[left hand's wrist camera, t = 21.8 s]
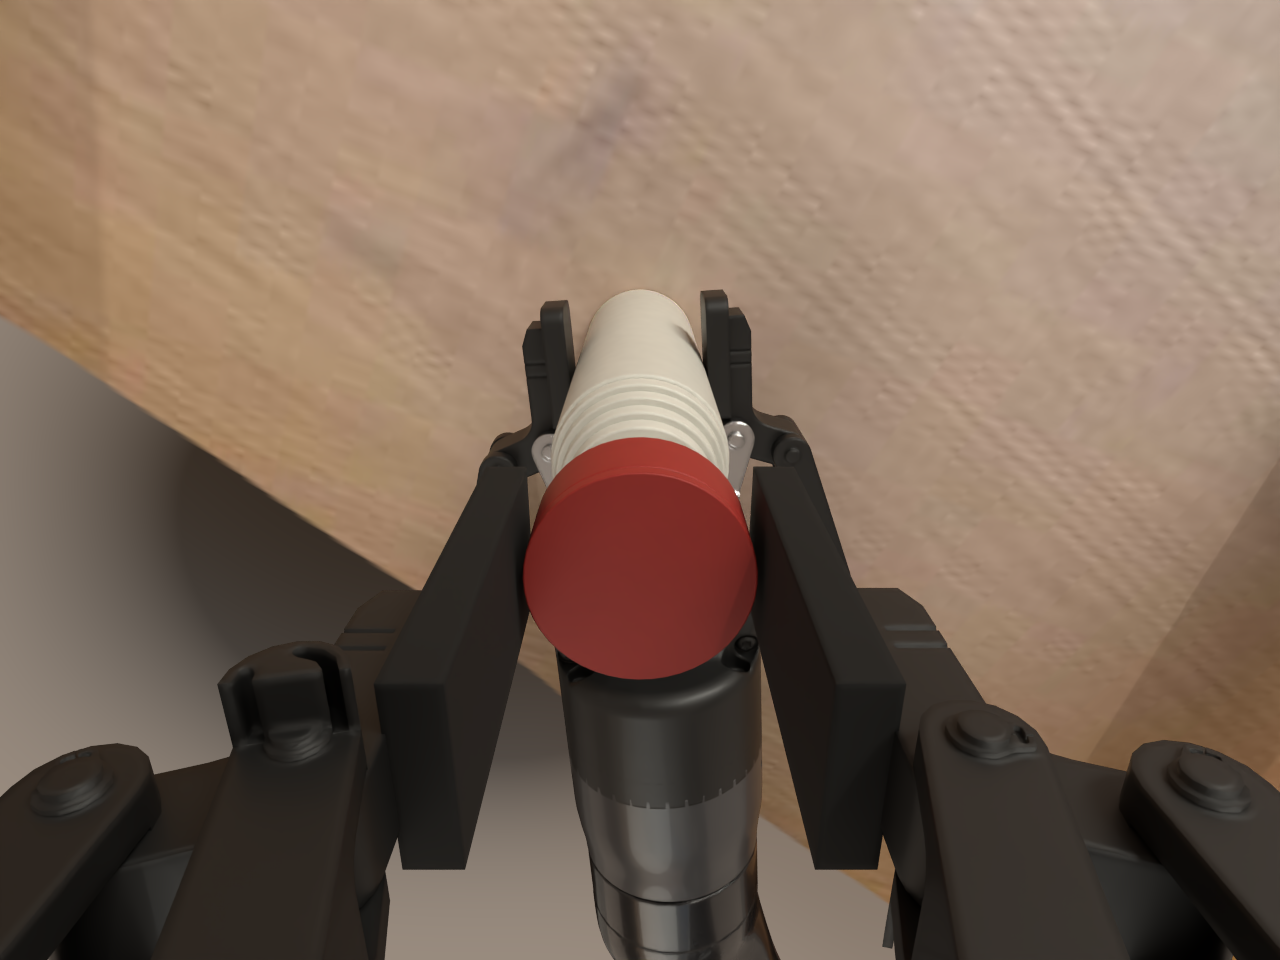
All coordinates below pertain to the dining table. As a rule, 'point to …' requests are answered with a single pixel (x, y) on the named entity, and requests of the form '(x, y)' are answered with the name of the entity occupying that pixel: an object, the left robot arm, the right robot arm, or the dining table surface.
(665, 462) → the cap
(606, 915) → the right robot arm
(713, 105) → the dining table surface
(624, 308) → the bottle
